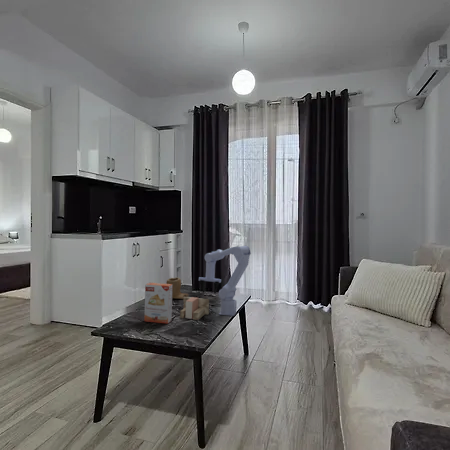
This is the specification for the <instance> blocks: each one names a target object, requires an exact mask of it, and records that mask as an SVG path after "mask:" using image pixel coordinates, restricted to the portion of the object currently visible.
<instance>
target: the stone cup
mask: <svg viewBox="0 0 450 450" xmlns="http://www.w3.org/2000/svg"><path fill="white" fill-rule="evenodd" d="M165 282H166V283H165V284H172V299H179V300H184V297H189V293H184V292H183V293H182V291H181V288H182V287H181V286H182V280H181V278H180V277H178V276H177V277H170V278H168V279H166V281H165Z"/></svg>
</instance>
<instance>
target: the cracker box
mask: <svg viewBox="0 0 450 450" xmlns="http://www.w3.org/2000/svg"><path fill="white" fill-rule="evenodd" d="M144 288H145V289H144V290H145V291H144V316H143V317H144V320H143V321H144V322H146V323H147V322H148V323H158V324H168V325H169V323H171V322H172V320H173V319H172V316H173V315H172V314H173V313H172V311H173V298H172V284H167V283H159V282H148V283H146V284H145V287H144Z"/></svg>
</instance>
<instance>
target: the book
mask: <svg viewBox="0 0 450 450" xmlns="http://www.w3.org/2000/svg"><path fill="white" fill-rule="evenodd" d="M198 298H199V297H196V296H195V297H193V296H192V297H191V298H190V299H188V300H187V301H186V317H185V319H189V320H190V319H191V320H192V319H193V312H195V311H196V310H197V309H198ZM193 320H194V319H193Z"/></svg>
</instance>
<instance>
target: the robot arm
mask: <svg viewBox="0 0 450 450" xmlns="http://www.w3.org/2000/svg"><path fill="white" fill-rule="evenodd" d="M251 254H252V253H251V249H250V247H249V246H247V245H240V246H231V247H229V248H227V249H224V250H223V249H220V248H219V249H216V250H215V251H211V252H207V253H205V254H204V260H205V277H202V276H201V277H200V276H199V277H198V281H199V284H200V286H201V289H202V293H205V290H206V282H209V283H210V282H211V283H213V284H214V287H213V290H214V291H213V293H214V294H217V291H218V290H217V289H218V287H219V286H220V284H221V283H222V278H221V279H220V278H216V277H215V273H216V263H217V261H219V260H222V259H224V258H225V256H228V255H233V256H234V258H235V260H236V262H237V263H238V264H237V265H236V267H235V269H234V270H233V272H232V274H231V276H230V277H229V280H228V282H227V283H226V284H225V285H224V286H222V288H220V289H219V291H218V298H219V299H220V312H219V313H218V315H221V316H231V317H234V316H235V315H236V314H237V312H238V311H237V300H236V299H234V297H235V296H236V291H237V285H238V283H240V280H241V278H242V277H243V275H244V273H245V271H246V269H247V267H248V266H249V261H250V256H251Z"/></svg>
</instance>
